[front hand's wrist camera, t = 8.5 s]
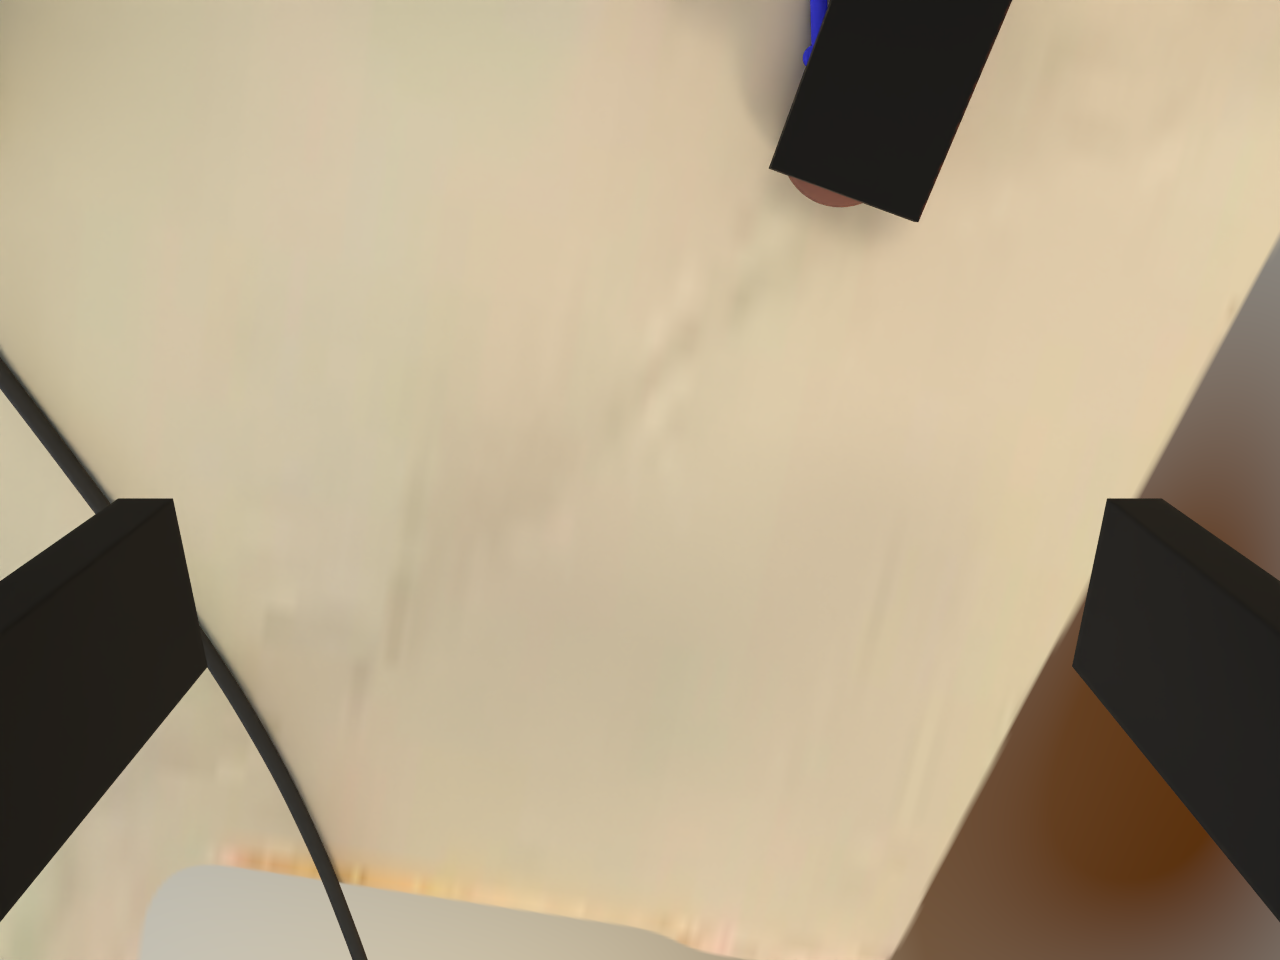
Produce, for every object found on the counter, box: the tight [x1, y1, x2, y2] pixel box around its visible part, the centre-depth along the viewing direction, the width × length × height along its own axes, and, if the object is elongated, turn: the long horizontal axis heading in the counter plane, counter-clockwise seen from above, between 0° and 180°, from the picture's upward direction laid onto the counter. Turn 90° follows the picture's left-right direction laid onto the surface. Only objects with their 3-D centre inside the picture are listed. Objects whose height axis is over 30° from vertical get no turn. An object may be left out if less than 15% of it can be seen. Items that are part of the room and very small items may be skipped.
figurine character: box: [769, 0, 1012, 222], centre depth 34 cm, size 7×8×15 cm
